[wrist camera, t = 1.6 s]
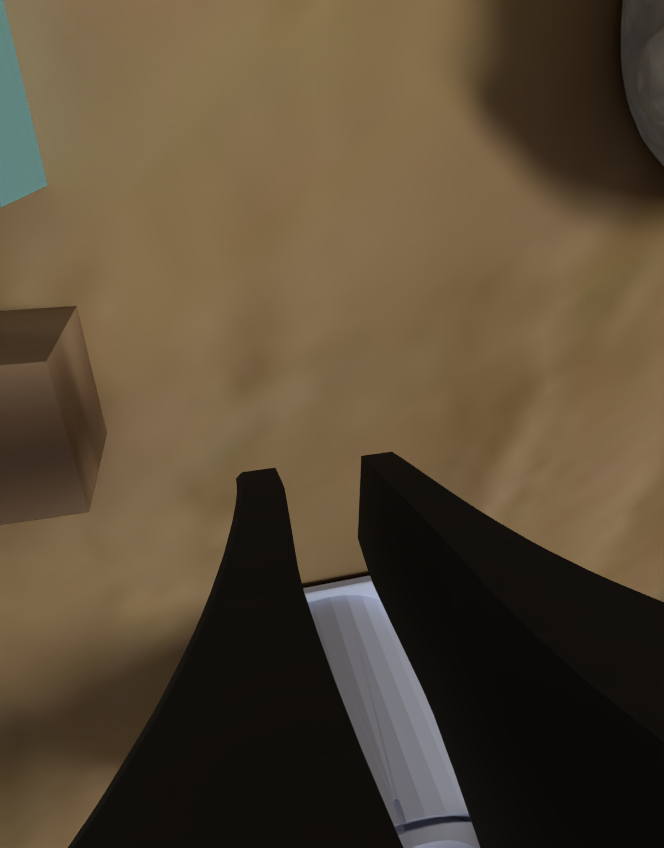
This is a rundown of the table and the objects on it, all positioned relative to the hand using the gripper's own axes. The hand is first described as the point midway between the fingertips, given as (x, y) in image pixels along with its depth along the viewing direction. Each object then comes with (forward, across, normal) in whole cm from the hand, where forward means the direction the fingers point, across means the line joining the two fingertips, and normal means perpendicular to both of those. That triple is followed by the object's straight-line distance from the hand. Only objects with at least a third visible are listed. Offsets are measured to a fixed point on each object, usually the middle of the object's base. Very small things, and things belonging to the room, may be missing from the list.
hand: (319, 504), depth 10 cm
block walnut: (+8, +7, 0) cm, 10 cm away
